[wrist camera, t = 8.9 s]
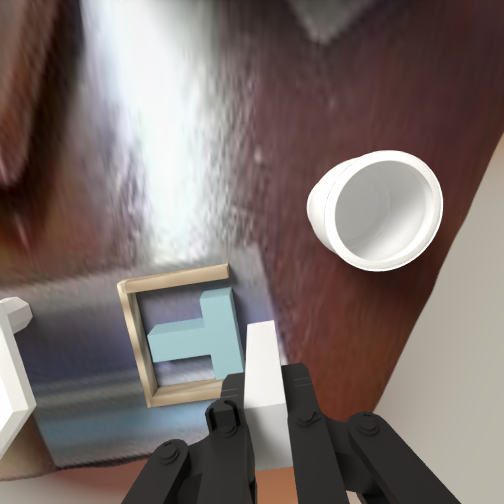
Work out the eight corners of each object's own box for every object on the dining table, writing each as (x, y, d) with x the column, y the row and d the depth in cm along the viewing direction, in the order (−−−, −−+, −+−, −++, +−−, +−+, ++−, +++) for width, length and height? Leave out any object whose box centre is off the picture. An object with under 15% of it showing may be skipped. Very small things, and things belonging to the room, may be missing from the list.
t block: (149, 299, 44) (140, 308, 40) (231, 286, 43) (229, 294, 40) (166, 373, 46) (159, 388, 42) (244, 362, 45) (244, 376, 42)
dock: (124, 278, 43) (116, 284, 40) (228, 263, 42) (226, 267, 40) (153, 396, 46) (147, 407, 44) (249, 382, 46) (249, 393, 43)
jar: (353, 255, 42) (407, 289, 27) (286, 227, 41) (304, 245, 27) (389, 184, 40) (467, 178, 26) (319, 152, 40) (358, 128, 25)
